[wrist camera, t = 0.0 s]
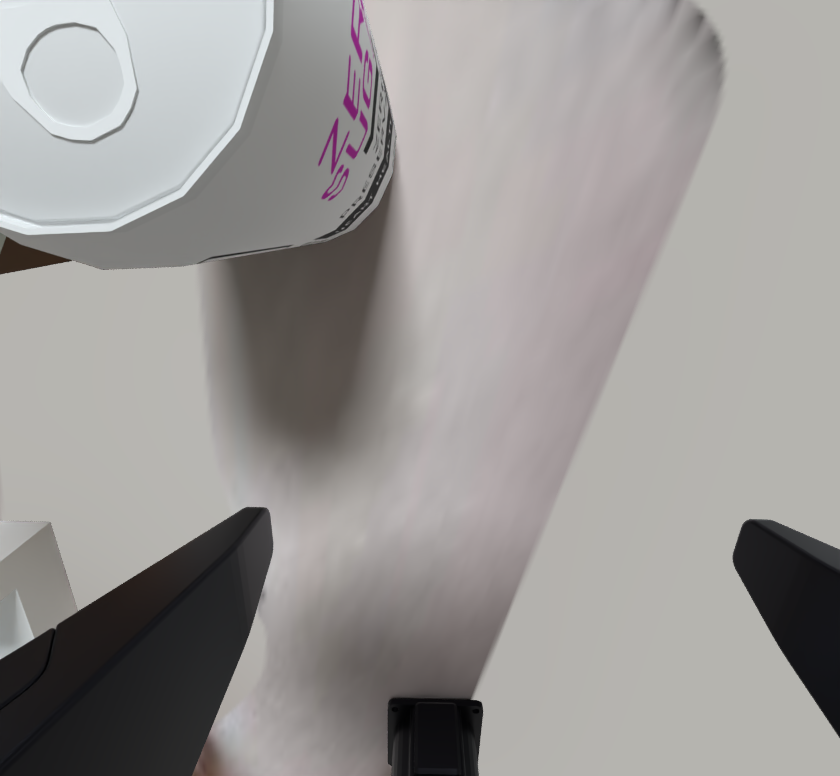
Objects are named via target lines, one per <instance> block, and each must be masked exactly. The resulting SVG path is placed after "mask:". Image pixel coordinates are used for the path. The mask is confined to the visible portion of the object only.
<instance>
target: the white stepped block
mask: <svg viewBox="0 0 840 776" xmlns="http://www.w3.org/2000/svg"><path fill="white" fill-rule="evenodd" d="M76 612H78V610H77V607H76V604H75V600H74V597H73V594H72V591H71V587H70V584H69V581H68V578H67V575H66V571H65V568H64V565H63V561H62V558H61V555H60V552H59V549H58V545H57V542H56V539H55V536H54V532H53V529H52V526H51V523H50V522H31V521H30V522H29V521H0V659H2V658H3V657H5V656H6V655H8V654H10V653H11V652H13V651H15V650H16V649H18V648H20V647H21V646H23V645H25V644H26V643H28V642H29V641H31V640H33V639H34V638H36V637H38V636H39V635H41V634H42V633H44V632H46V631H47V630H49V629H50V628H55V629H56V626H57V625H58V624H59V623H60V622H62V621H63V620H65V619H67V618H68V617H70V616H71V615H73V614H75V613H76Z"/></svg>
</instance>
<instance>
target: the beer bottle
mask: <svg viewBox="0 0 840 776" xmlns="http://www.w3.org/2000/svg"><path fill="white" fill-rule="evenodd" d="M69 261H72V260H70V259H66V258H63V257H60V256H57V255H53V254H50V253H47V252H44V251H40V250H37V249H34V248H31V247H27V246H24V245H21V244H19V243H17V242H15V241H14V240H12V239H10V238H9V237H7V236H5V235H4V234H2V233H0V274H4V273H10V272H15V271H20V270H26V269H31V268H37V267H42V266H47V265H52V264H58V263H63V262H69Z"/></svg>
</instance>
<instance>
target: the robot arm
mask: <svg viewBox="0 0 840 776" xmlns="http://www.w3.org/2000/svg"><path fill="white" fill-rule="evenodd" d="M272 553H273V537H272V527H271V518H270V513H269V510H268V509H267V508H265V507H246V508H244V509H242V510H240V511H239V512H237V513H235V514H234V515H232V516H231V517H229V518H227V519H226V520H224V521H223V522H221V523H219V524H218V525H216V526H215V527H213V528H211V529H210V530H208V531H207V532H205V533H203V534H202V535H200V536H198V537H197V538H195V539H194V540H192V541H190V542H189V543H187V544H186V545H184V546H182V547H181V548H179V549H178V550H176V551H174V552H173V553H171V554H170V555H168V556H166V557H165V558H163V559H162V560H160V561H158V562H157V563H155V564H153V565H152V566H150V567H149V568H147V569H145V570H144V571H142V572H141V573H139V574H137V575H136V576H134V577H133V578H131V579H129V580H128V581H126V582H125V583H123V584H121V585H120V586H118V587H117V588H115V589H113V590H112V591H110V592H109V593H107V594H105V595H104V596H102V597H100V598H99V599H97V600H96V601H94V602H92V603H91V604H89V605H88V606H86V607H84V608H83V609H81V610H79V611H78V612H76V613H75V614H73V615H71V616H70V617H68V618H67V619H65V620H63V621H62V622H60V623H59V624H58V625H57V626H56V629H55V628H50V629H49V630H47V631H46V632H44V633H42V634H41V635H39V636H38V637H36V638H34V639H33V640H31V641H29V642H28V643H26V644H25V645H23V646H21V647H20V648H18V649H16V650H15V651H13V652H11V653H10V654H8V655H6V656H5V657H3V658H2V659H0V776H192V774H193V771H194V769H195V766H196V764H197V761H198V759H199V757H200V754H201V752H202V749H203V747H204V744H205V742H206V739H207V737H208V735H209V732H210V730H211V727H212V725H213V722H214V720H215V717H216V715H217V713H218V710H219V708H220V705H221V702H222V700H223V698H224V695H225V693H226V691H227V688H228V686H229V683H230V681H231V678H232V676H233V674H234V671H235V669H236V666H237V664H238V661H239V659H240V656H241V654H242V651H243V649H244V647H245V644H246V641H247V638H248V636H249V633H250V630H251V626H252V623H253V620H254V617H255V613H256V610H257V606H258V603H259V599H260V596H261V593H262V589H263V586H264V582H265V579H266V575H267V572H268V568H269V565H270V561H271V558H272ZM733 563H734V566H735V569H736V571H737V573H738V574H739V576H740V578H741V580H742V582H743V583H744V585H745V587H746V589H747V591H748V592H749V594H750V596H751V598H752V600H753V601H754V603H755V605H756V607H757V608H758V610H759V612H760V614H761V616H762V618H763V619H764V621H765V623H766V625H767V626H768V628H769V630H770V632H771V634H772V636H773V637H774V639H775V641H776V642H777V644H778V646H779V648H780V649H781V651H782V652H783V654H784V655H785V657H786V658H787V660H788V662H789V663H790V665H791V666H792V667H793V669H794V671H795V672H796V674H797V675H798V676H799V678H800V679H801V681H802V682H803V684H804V685H805V687H806V688H807V690H808V691H809V693H810V694H811V696H812V697H813V699H814V700H815V702H816V703H817V705H818V706H819V708H820V709H821V711H822V712H823V714H824V715H825V717H826V718H827V720H828V721H829V723H830V724H831V726H832V727H833V729H834V730H835V732H836V733H837V735H838V736H839V738H840V550H839V549H837V548H835V547H833V546H830V545H828V544H826V543H823V542H821V541H819V540H816V539H814V538H812V537H810V536H807V535H805V534H803V533H800V532H798V531H796V530H793V529H791V528H789V527H787V526H784V525H782V524H779V523H777V522H775V521H772V520H762V519H749V520H747V521H745V522H744V523H743V525H742V527H741V531H740V534H739V537H738V540H737V543H736V546H735V549H734V552H733ZM482 717H483V707H482V703H481V702H480V701H477V700H442V699H398V698H395V699H391V700H390V701H389V703H388V764H389V765H391V766H392V773H391V776H479V773H478V755H479V746H480V736H481V726H482Z"/></svg>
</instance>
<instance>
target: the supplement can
mask: <svg viewBox="0 0 840 776" xmlns="http://www.w3.org/2000/svg"><path fill="white" fill-rule="evenodd" d="M396 137H397V135H396V130H395V125H394V120H393V116H392V111H391V106H390V101H389V96H388V93H387V89H386V85H385V81H384V77H383V74H382V70H381V66H380V62H379V58H378V55H377V51H376V47H375V43H374V39H373V35H372V32H371V28H370V24H369V20H368V16H367V13H366V9H365V5H364V1H363V0H0V233H2V234H4V235H5V236H7V237H9V238H10V239H12V240H14V241H15V242H17V243H19V244H21V245H24V246H27V247H31V248H34V249H37V250H40V251H44V252H47V253H50V254H53V255H57V256H60V257H63V258H66V259H70V260H73V261H76V262H80V263H83V264H86V265H89V266H93V267H96V268H99V269H103V270H109V269H131V268H132V269H133V268H157V267H180V266H187V265H193V264H199V263H205V262H211V261H217V260H223V259H229V258H235V257H240V256H246V255H252V254H258V253H264V252H270V251H276V250H282V249H287V248H293V247H299V246H305V245H311V244H317V243H323V242H327V241H329V240H331V239H334V238H336V237H338V236H340V235H343V234H345V233H347V232H349V231H352V230H354V229H355V228H356V227H357V226H358V225H359V224H360V223H361V222H362V221H363V220H364V219H365V218H366V217H367V216H368V215H369V214H370V213H371V212H372V211H373V210H374V209H375V208H376V207H377V206H378V205H379V202H380V200H381V198H382V196H383V194H384V192H385V189H386V187H387V185H388V183H389V181H390V178H391V176H392V174H393V166H394V157H395V147H396Z"/></svg>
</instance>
